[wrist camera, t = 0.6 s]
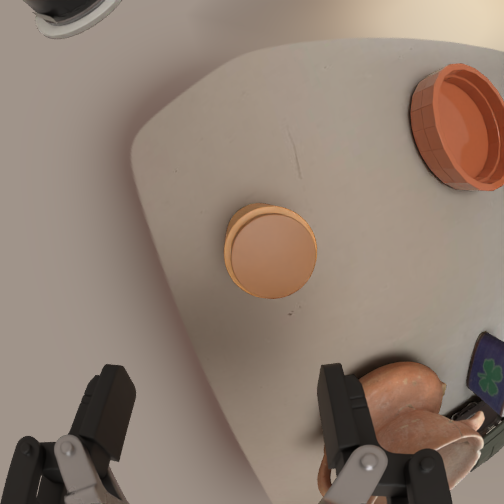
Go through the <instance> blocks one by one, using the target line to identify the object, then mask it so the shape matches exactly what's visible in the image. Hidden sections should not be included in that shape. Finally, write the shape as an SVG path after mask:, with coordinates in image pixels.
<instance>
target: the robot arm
mask: <svg viewBox="0 0 504 504" xmlns="http://www.w3.org/2000/svg"><path fill="white" fill-rule="evenodd" d="M23 1H24V2H26V3H27V4H28V5H29V6H30V7H31V8H32V9H33V10H35V11H36V12H37V13H34V14H35V15H36V16H38V17H39V18H42V19H43V20H45V21H46V22H47V23H48V24H50V25H53V26H63V25H67V24H70V23H73V22H76V21H78V20H80V19H82V18H83V17H85V16H87V15H88V14H90V13H91V12H93V11H94V10H95V9H96V8H98V7H99V6H100V5H101V4H102V3H103V2H104V1H105V0H23ZM84 394H85V395H84V396H83V398H82V401H81V404H80V406H79V408H78V411H77V413H76V416H75V419H74V422H73V424H72V427H71V430H70V432H69V434H68V435H64V436H62V437H60V438H59V439H58V440H57V442H44V443H39V442H38V441H37V440H36V439H35V438H33V437H31V436H25V437H23V438H22V439H20V440H19V441H18V443H17V446H16V449H15V452H14V455H13V458H12V461H11V465H10V468H9V472H8V475H7V479H6V483H5V487H4V491H3V495H2V499H1V504H129V503H128V501H127V500H126V498H125V496H124V494H123V492H122V491H121V489H120V487H119V485H118V483H117V481H116V479H115V477H114V475H113V473H112V471H111V468H110V467H109V462H110V460H113V461H117V462H119V460H120V455H121V451H122V447H123V444H124V440H125V436H126V432H127V428H128V424H129V420H130V417H131V413H132V410H133V406H134V402H135V398H136V390H135V386H134V384H133V382H132V381H131V379H130V377H129V375H128V374H127V372H126V370H125V368H124V367H123V366H120V365H110V364H106V365H105V366H104V367H103V369H102V372H101V374H100V376H99V375H95V377H94V378H93V379H92V380H91V381H90V382H89V384H88V385H87V388H86V390H85V393H84ZM317 396H318V404H319V410H320V416H321V423H322V429H323V436H324V442H325V449H326V456H327V463H328V469H334V468H336V475H337V478H336V479H335V481H334V482H333V484H332V485H331V487H330V488H329V490H328V491H327V492H326V494H325V495H324V497H323V498H322V499H321V501H320V502H319V504H366V503H367V501H368V500H369V498H370V496H384V497H386V499H387V504H452V499H451V494H450V489H449V484H448V479H447V475H446V471H445V466H444V462H443V459H442V456H441V455H440V454H439V453H438V452H437V451H436V450H434V449H430V448H425V449H421V450H419V451H417V452H416V453H415V454H401V453H392V452H389V451H387V450H385V449H384V448H382V447H381V446H380V444H379V443H378V441H377V438H376V434H375V430H374V426H373V422H372V419H371V415H370V411H369V407H368V404H367V400H366V398H365V393H364V390H363V386H362V384H361V382H360V381H359V380H358V379H357V378H356V376H355V375H347V376H344V372H343V369H342V365H341V364H340V363H335V364H326V365H321V369H320V375H319V380H318V386H317ZM41 475H42V478H41V482H40V486H39V481H40V477H41ZM38 486H39V491H38V495H37V490H38ZM36 495H37V496H36Z"/></svg>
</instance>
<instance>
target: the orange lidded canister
mask: <svg viewBox="0 0 504 504" xmlns="http://www.w3.org/2000/svg"><path fill="white" fill-rule="evenodd" d="M316 258H317V244H316V240H315V236H314V234H313V231H312V229H311V228H310V226H309V225H308V223H307V222H306V221H305V220H304V219H303V218H302V217H301V216H300V215H298V214H297V213H295V212H293V211H291V210H289V209H286V208H283V207H279V206H274V205H269V204H264V203H255V204H250V205H247V206H245V207H243V208H242V209H240V210H239V211H238V212H236V213H235V215H234V216H233V217H232V219H231V220H230V222H229V224H228V227H227V232H226V239H225V246H224V260H225V265H226V268H227V271H228V273H229V275H230V277H231V278H232V280H233V281H234V282H235V283H236V285H237V286H238V287H240V288H241V289H242V290H244V291H245V292H247V293H249V294H251V295H253V296H256V297H260V298H269V299H275V298H282V297H286V296H288V295H291V294H293V293H294V292H296V291H298V290H299V289H300V288H301V287H302V286H303V285H304V284H305V283H306V282H307V281H308V279H309V278H310V276H311V274H312V272H313V270H314V266H315V263H316Z"/></svg>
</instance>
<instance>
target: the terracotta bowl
mask: <svg viewBox="0 0 504 504" xmlns="http://www.w3.org/2000/svg"><path fill="white" fill-rule="evenodd" d="M410 117H411V127H412V132H413V136H414V139H415V142H416V145H417V147H418V150H419V152H420V154H421V156H422V158H423V159H424V161H425V163H426V164H427V166H428V167H429V168H430V170H431V171H432V172H433V173H434V174H435V175H436V176H437V177H438V178H439V179H440V180H441V181H442V182H443V183H445V184H447V185H449V186H451V187H453V188H455V189H457V190H480V191H493V190H495V189H497V188H499V187H501V186H502V185H503V184H504V101H503V99H502V97H501V96H500V94H499V92H498V91H497V89H496V88H495V87H494V86H493V84H492V83H491V82H490V81H489V79H488V78H487V77H485V76H484V75H483V74H482V73H480V72H479V71H478V70H476V69H475V68H473V67H470V66H467V65H465V64H461V63H460V64H449V65H447V66H445V67H443V68H441V69H439V70H437V71H436V72H434V73H432V74H430V75H428V76H427V77H425V78H424V79H423V80H421V81H420V82H419V84H418V86H417V88H416V90H415V91H414V93H413V95H412V103H411V111H410Z"/></svg>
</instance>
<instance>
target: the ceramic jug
mask: <svg viewBox="0 0 504 504" xmlns="http://www.w3.org/2000/svg"><path fill="white" fill-rule="evenodd" d="M359 381H360V382H361V384H362V386H363V390H364V393H365V398H366V400H367V404H368V407H369V411H370V415H371V419H372V422H373V426H374V430H375V434H376V438H377V441H378V443H379V444H380V446H381V447H382V448H384V449H385V450H387V451H389V452H392V453H401V454H415V453H416V452H417V451H419V450H421V449H425V448H430V449H434V450H436V451H437V452H438V453H439V454H440V455H441V456H442V459H443V462H444V466H445V471H446V475H447V479H448V484H449V489H450V490H452V489H453V488H454V487H455V486H456V485H457V484H458V483H459V482H460V481H461V480H462V479H463V478H464V477H465V476H466V475H467V474H468V473H469V472H470V471H471V469H472V468H473V467H474V465H475V464H476V462H477V461H478V459H479V457H480V455H481V452H480V449H482V448H483V446H484V441H483V438H482V436H481V435H480V434H479V433H478V432H477V430H478V429H479V428H480V426H481V425H482V423H483V421H484V419H485V417H484V414H483V412H482V411H478V412H477V413H476V414H475V415H474V416H473V417H472V418H470V419H467V420H460V421H453V420H451V419H449V418H447V417H444V416H442V415H439V414H438V413H439V411H440V407H441V403H442V397H443V396H444V393H445V389H446V384H445V383H443V382H441V381H440V380H439V378H438V376H437V375H436V373H435V372H434V371H433V370H431V369H430V368H429V367H427V366H425V365H423V364H420V363H415V362H396V363H391V364H388V365H385V366H382V367H379V368H377V369H375V370H373V371H371V372H370V373H368V374H366V375H365V376H363V377H361V378H360V379H359ZM330 476H331V469H328V463H327V456H326V449H325V445H324V457H323V460H322V463H321V466H320V469H319V473H318V479H317V480H318V488H319V491H320V493H321V495H322V496H323V497H324V495H325V494H326V492H327V491H328V490H329V488H330V487H331V485H332V484H331V479H330ZM366 504H387V499H386V497H384V496H370V498H369V500H368V501H367V503H366Z"/></svg>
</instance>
